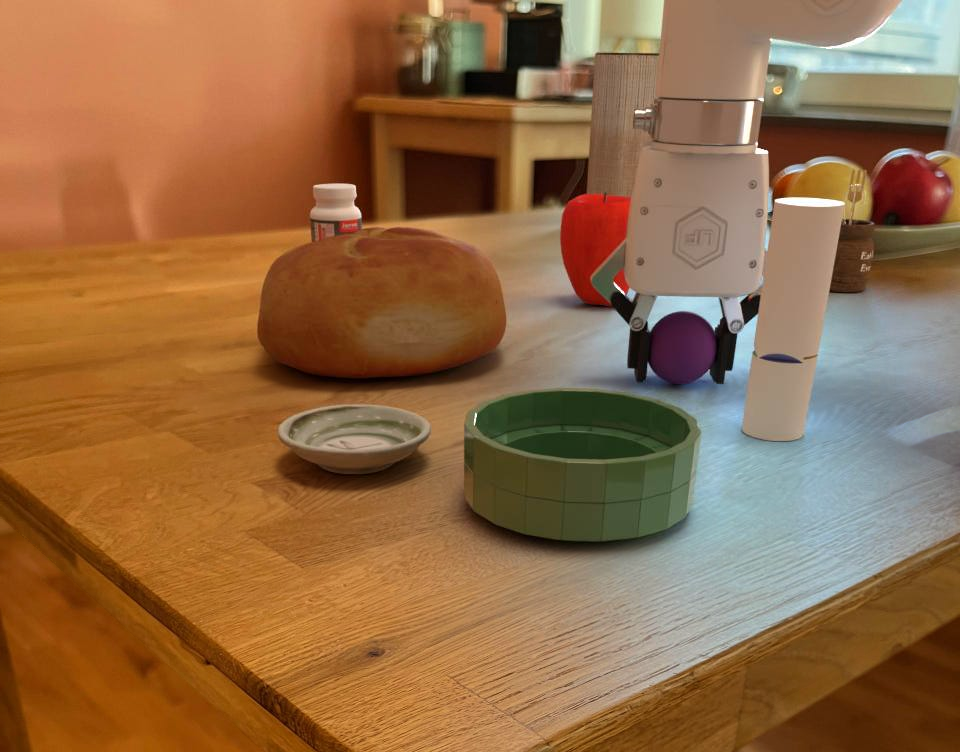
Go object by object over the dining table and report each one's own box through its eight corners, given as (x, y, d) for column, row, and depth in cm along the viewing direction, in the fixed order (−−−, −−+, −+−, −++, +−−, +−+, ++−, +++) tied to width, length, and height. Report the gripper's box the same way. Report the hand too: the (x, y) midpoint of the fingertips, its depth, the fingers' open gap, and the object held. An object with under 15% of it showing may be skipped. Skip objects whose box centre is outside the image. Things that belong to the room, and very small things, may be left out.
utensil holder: (811, 291, 114) (831, 174, 108) (812, 280, 119) (831, 168, 113) (866, 295, 112) (890, 176, 106) (865, 284, 118) (887, 170, 112)
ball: (707, 374, 84) (716, 304, 82) (717, 393, 80) (727, 321, 77) (639, 372, 85) (646, 303, 82) (645, 392, 80) (652, 319, 77)
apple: (540, 298, 109) (545, 188, 103) (608, 291, 112) (616, 185, 107) (585, 315, 102) (592, 199, 97) (656, 307, 106) (667, 195, 100)
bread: (198, 346, 90) (183, 226, 85) (410, 311, 103) (408, 204, 98) (340, 409, 75) (332, 267, 70) (568, 358, 88) (574, 235, 83)
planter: (616, 216, 163) (628, 52, 152) (663, 223, 157) (679, 53, 145) (571, 221, 158) (580, 52, 146) (619, 229, 151) (632, 53, 140)
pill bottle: (351, 286, 113) (346, 190, 108) (305, 283, 115) (298, 187, 110) (372, 277, 118) (368, 184, 113) (327, 274, 119) (322, 181, 114)
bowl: (675, 467, 65) (684, 390, 63) (704, 555, 54) (716, 466, 52) (471, 461, 66) (471, 385, 63) (457, 547, 55) (457, 459, 52)
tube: (779, 418, 74) (816, 196, 67) (816, 437, 71) (859, 205, 63) (729, 425, 73) (761, 198, 65) (764, 444, 69) (802, 207, 62)
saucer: (462, 460, 66) (462, 424, 65) (350, 502, 60) (348, 463, 59) (361, 426, 72) (359, 393, 70) (249, 462, 65) (245, 425, 64)
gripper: (588, 129, 70) (572, 389, 79) (840, 133, 69) (795, 395, 78) (583, 122, 76) (570, 363, 85) (814, 126, 76) (775, 368, 85)
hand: (678, 376), depth 82 cm, fingers closed on ball, 5 cm apart
